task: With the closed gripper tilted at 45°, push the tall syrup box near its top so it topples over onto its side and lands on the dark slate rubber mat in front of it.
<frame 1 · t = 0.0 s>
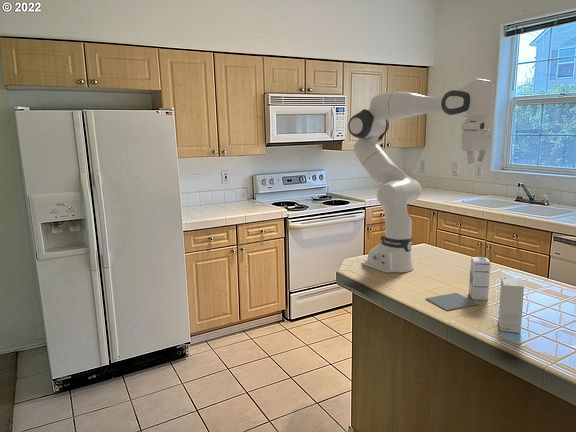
hand: (475, 162, 162), 48 cm above the table, tool pointing down, fingers open, 8 cm apart
syrup box: (477, 297, 159), on the table
skincare box: (508, 327, 136), on the table
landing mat: (451, 301, 155), on the table
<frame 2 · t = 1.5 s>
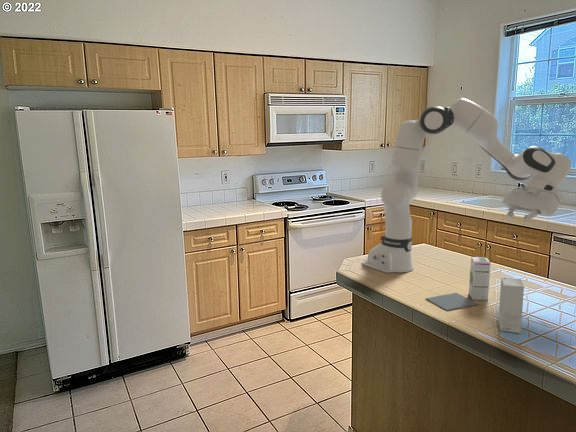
hand: (517, 218, 162), 28 cm above the table, tool tilted 45°, fingers open, 6 cm apart
nothing on the table moved.
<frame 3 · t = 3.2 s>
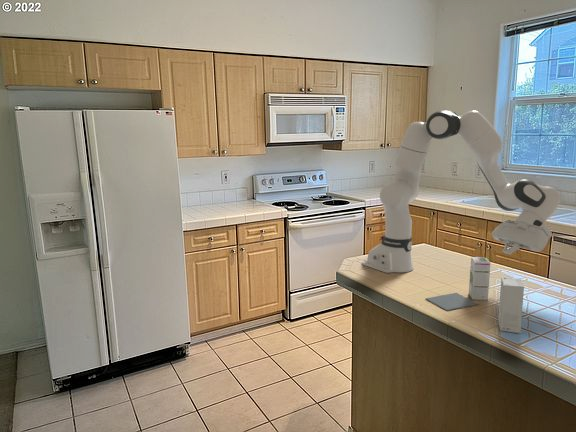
hand: (506, 252, 161), 15 cm above the table, tool tilted 45°, fingers closed
nothing on the table moved.
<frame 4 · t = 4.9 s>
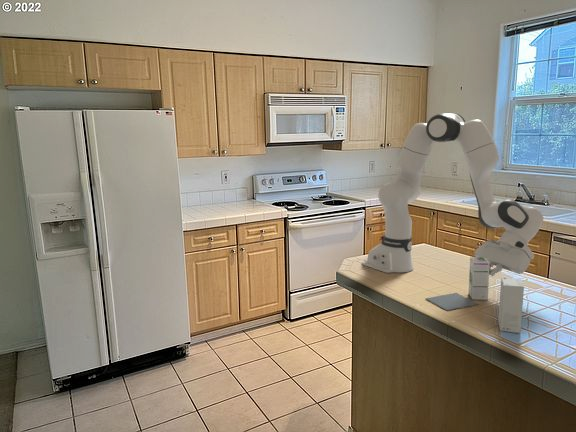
hand: (488, 273, 159), 8 cm above the table, tool tilted 45°, fingers closed
syrup box: (477, 297, 159), on the table, touching gripper
everything else where it was.
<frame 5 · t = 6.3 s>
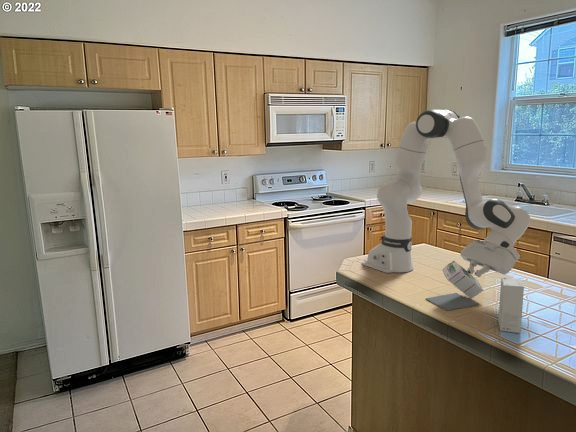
hand: (473, 274, 156), 9 cm above the table, tool tilted 45°, fingers closed
syrup box: (474, 290, 159), point 3 cm above the table, touching gripper
everything else where it was.
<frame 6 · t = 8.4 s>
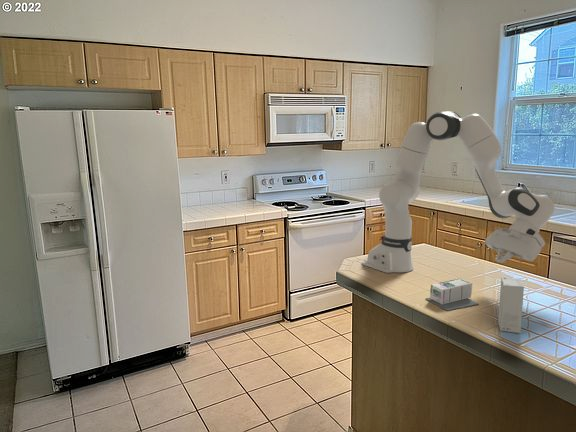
hand: (498, 261, 160), 13 cm above the table, tool tilted 45°, fingers closed
syrup box: (466, 287, 160), point 3 cm above the table, touching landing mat
everything else where it was.
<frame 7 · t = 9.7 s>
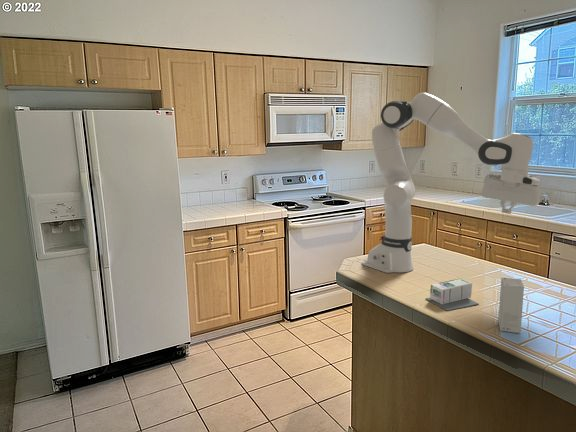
hand: (506, 213, 166), 29 cm above the table, tool pointing down, fingers closed
nothing on the table moved.
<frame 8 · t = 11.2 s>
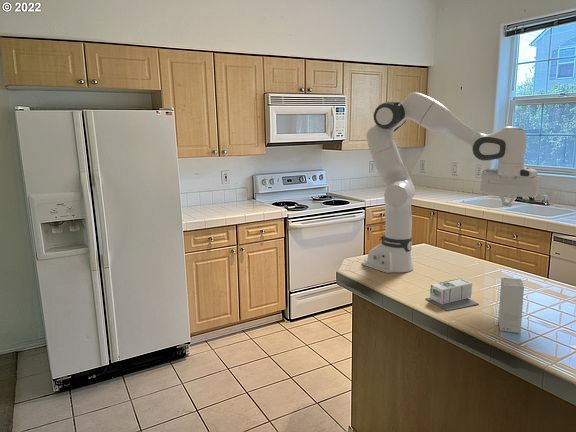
hand: (506, 206, 167), 31 cm above the table, tool pointing down, fingers closed
nothing on the table moved.
at the end: syrup box tilted 89°; syrup box touching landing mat; the gripper is holding nothing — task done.
